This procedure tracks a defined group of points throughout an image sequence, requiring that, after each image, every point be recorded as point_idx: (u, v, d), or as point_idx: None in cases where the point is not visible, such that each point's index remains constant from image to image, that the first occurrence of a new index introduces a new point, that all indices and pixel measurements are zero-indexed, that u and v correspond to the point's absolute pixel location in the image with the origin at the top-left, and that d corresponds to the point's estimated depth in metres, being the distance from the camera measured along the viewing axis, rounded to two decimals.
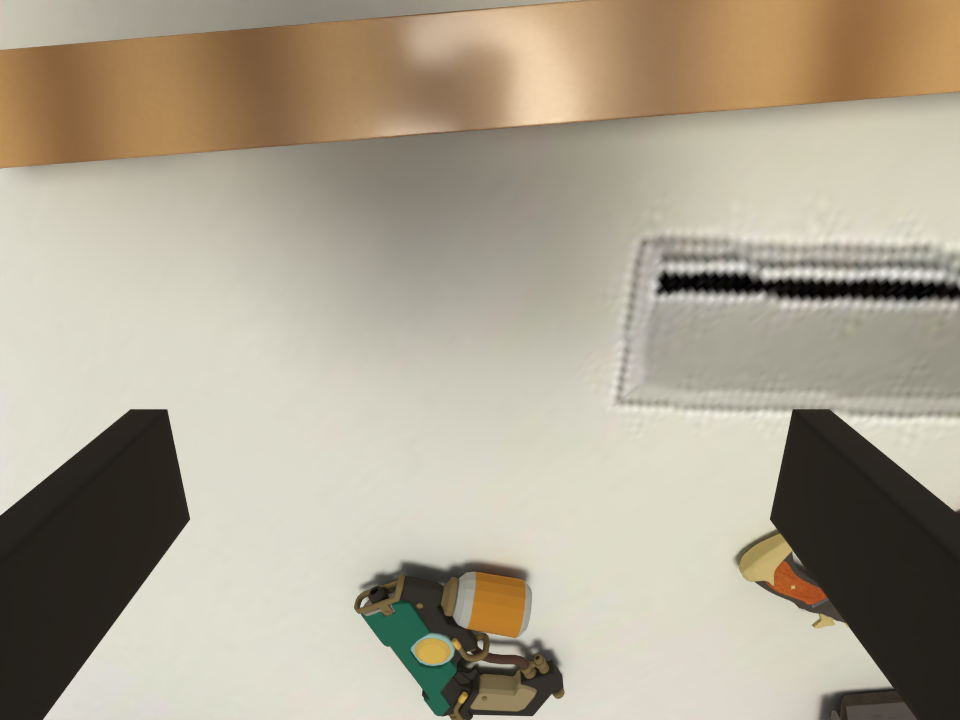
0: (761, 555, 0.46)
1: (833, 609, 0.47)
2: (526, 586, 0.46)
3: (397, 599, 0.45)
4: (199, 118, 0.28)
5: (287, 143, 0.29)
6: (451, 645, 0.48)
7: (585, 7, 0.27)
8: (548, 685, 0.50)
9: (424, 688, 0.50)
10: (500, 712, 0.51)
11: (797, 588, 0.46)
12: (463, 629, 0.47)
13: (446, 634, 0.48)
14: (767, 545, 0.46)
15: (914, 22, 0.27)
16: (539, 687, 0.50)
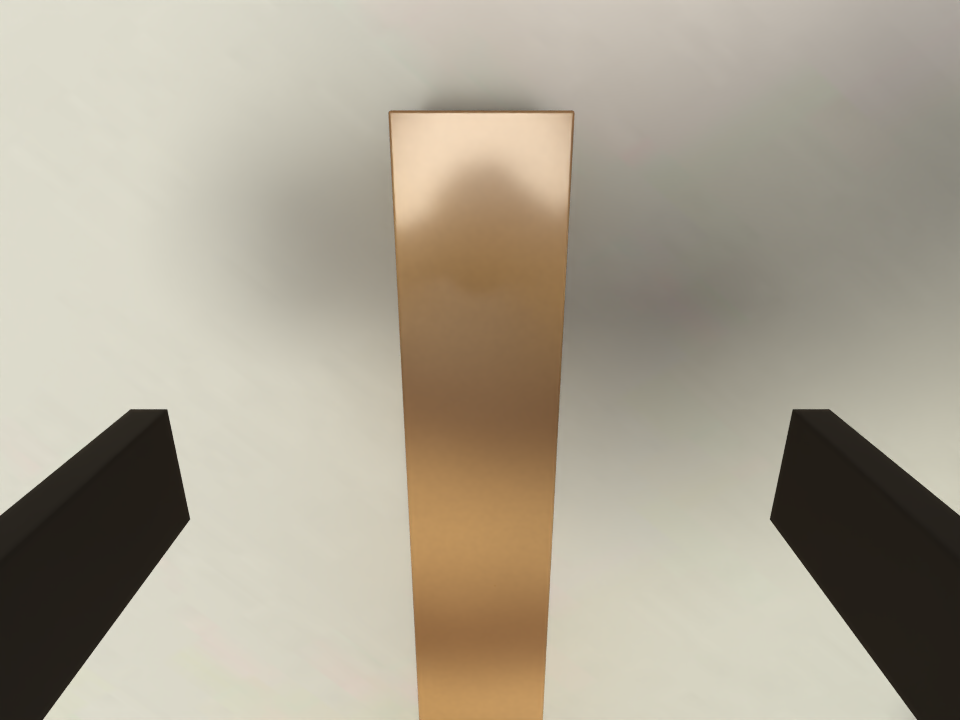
0: None
1: None
2: None
3: None
4: (452, 564, 0.22)
5: (417, 647, 0.23)
6: None
7: None
8: None
9: None
10: None
11: None
12: None
13: None
14: None
15: None
16: None
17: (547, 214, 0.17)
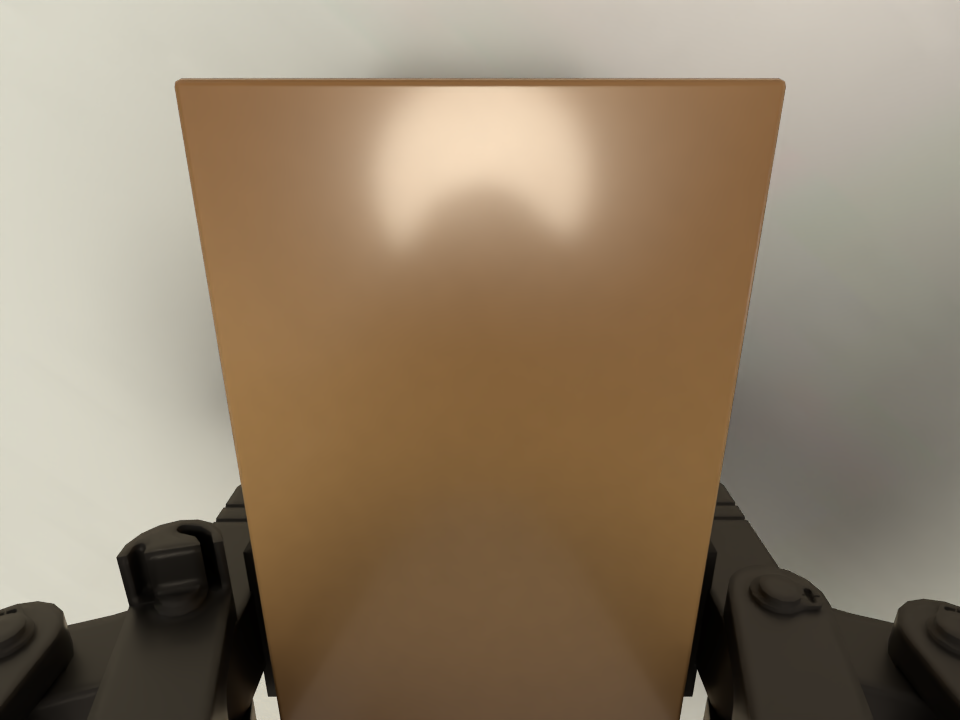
0: None
1: None
2: None
3: None
4: None
5: None
6: None
7: None
8: None
9: None
10: None
11: None
12: None
13: None
14: None
15: None
16: None
17: (672, 389, 0.06)
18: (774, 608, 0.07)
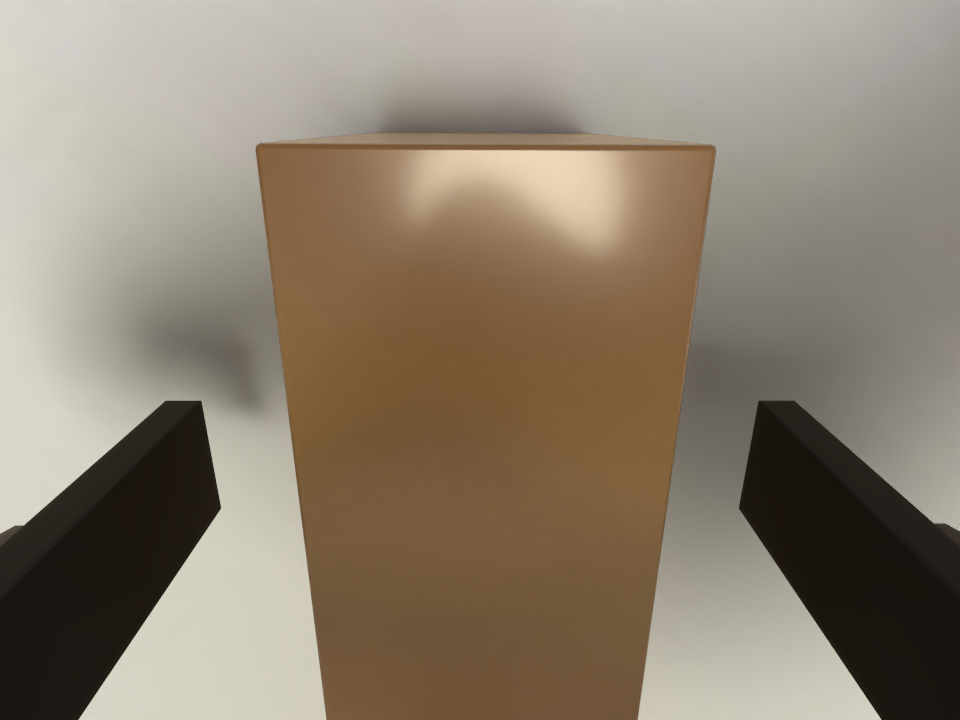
0: None
1: None
2: None
3: None
4: None
5: None
6: None
7: None
8: None
9: None
10: None
11: None
12: None
13: None
14: None
15: None
16: None
17: (635, 380, 0.07)
18: None
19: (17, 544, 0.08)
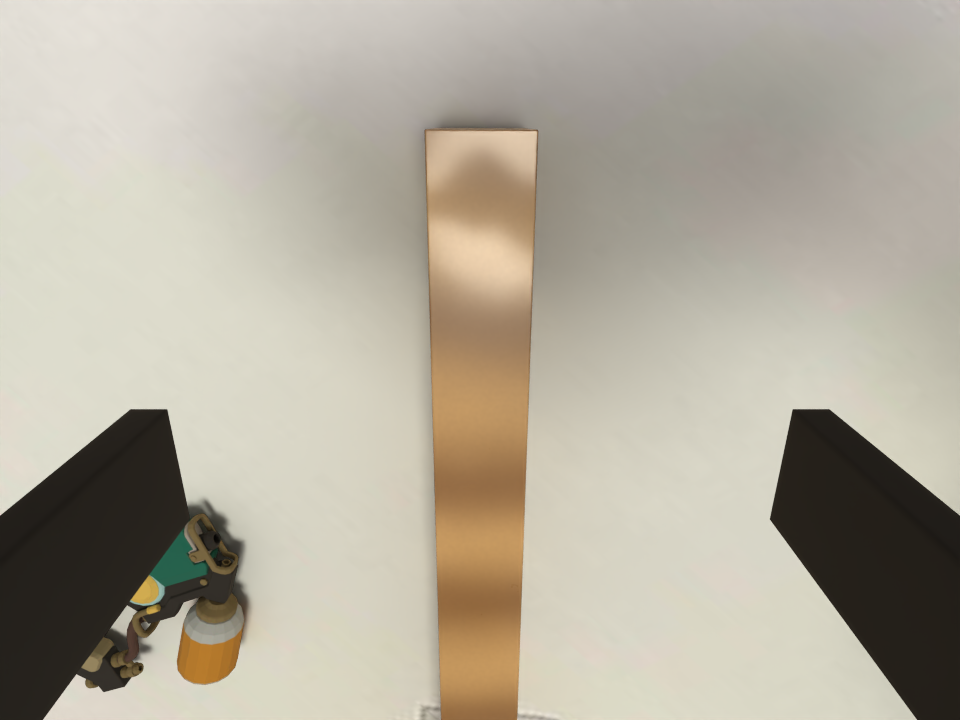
0: None
1: None
2: (235, 664, 0.46)
3: (214, 570, 0.42)
4: (461, 433, 0.32)
5: (436, 495, 0.33)
6: (150, 604, 0.44)
7: (513, 684, 0.39)
8: (105, 680, 0.46)
9: None
10: None
11: None
12: (174, 615, 0.44)
13: (162, 597, 0.44)
14: None
15: None
16: (101, 673, 0.46)
17: (522, 194, 0.28)
18: None
19: None
